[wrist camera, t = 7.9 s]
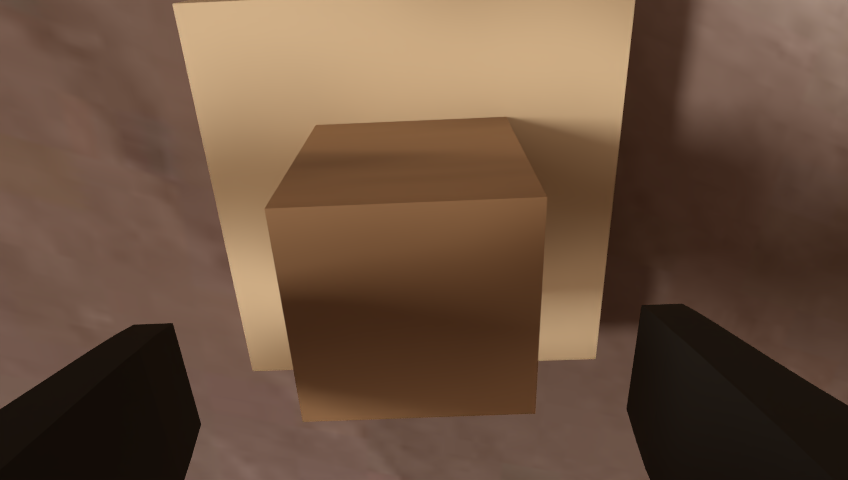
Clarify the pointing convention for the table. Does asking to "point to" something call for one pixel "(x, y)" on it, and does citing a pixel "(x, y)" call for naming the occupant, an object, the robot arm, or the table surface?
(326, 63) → the birch base
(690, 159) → the table surface
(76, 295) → the table surface
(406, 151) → the walnut block
